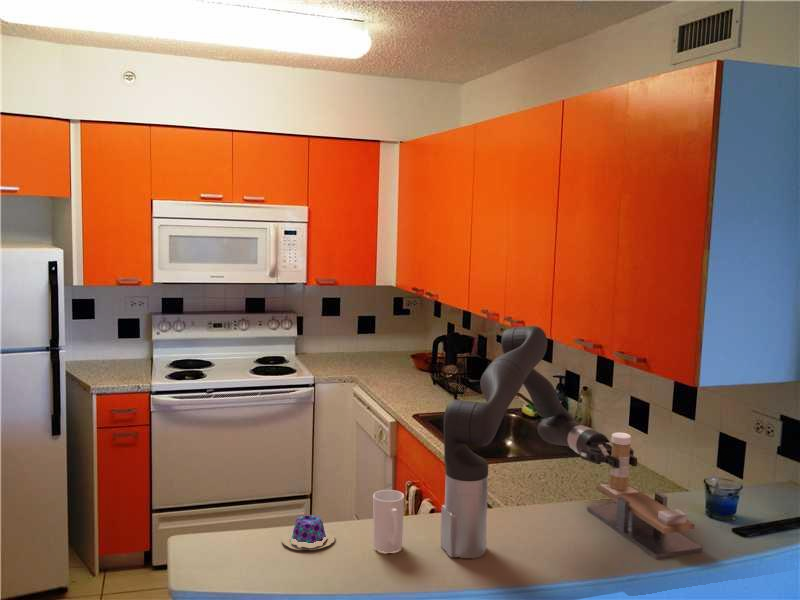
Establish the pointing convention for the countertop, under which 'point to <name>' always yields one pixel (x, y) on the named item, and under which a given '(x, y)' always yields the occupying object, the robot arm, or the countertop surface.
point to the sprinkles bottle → (622, 453)
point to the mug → (388, 520)
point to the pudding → (308, 529)
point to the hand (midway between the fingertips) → (627, 463)
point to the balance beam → (649, 509)
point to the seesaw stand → (643, 530)
